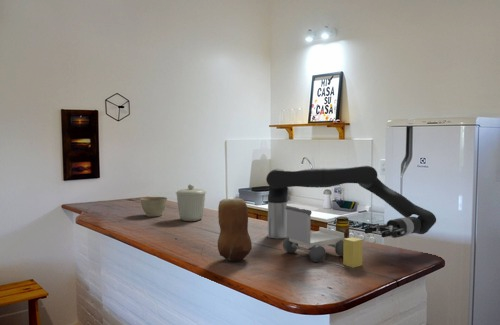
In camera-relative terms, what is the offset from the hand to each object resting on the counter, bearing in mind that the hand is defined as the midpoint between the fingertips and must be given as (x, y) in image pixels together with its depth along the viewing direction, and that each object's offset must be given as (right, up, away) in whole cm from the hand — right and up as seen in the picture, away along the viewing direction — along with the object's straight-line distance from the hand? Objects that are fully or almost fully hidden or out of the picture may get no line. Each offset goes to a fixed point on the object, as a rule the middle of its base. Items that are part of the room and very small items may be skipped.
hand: (373, 232), depth 171 cm
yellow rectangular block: (-10, -11, -5) cm, 16 cm away
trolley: (-21, -11, +10) cm, 25 cm away
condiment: (-7, -10, +28) cm, 30 cm away
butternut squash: (-55, -12, +1) cm, 56 cm away
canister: (-84, -6, +86) cm, 120 cm away
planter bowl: (-109, -6, +100) cm, 148 cm away
